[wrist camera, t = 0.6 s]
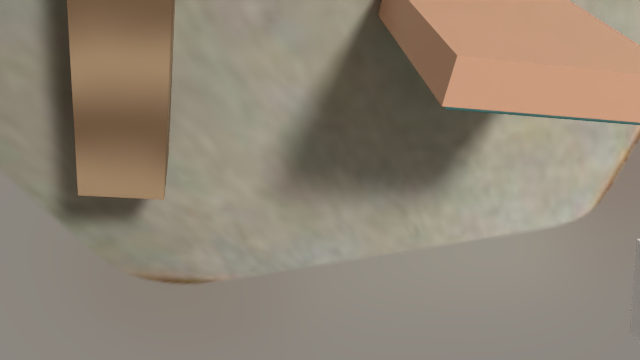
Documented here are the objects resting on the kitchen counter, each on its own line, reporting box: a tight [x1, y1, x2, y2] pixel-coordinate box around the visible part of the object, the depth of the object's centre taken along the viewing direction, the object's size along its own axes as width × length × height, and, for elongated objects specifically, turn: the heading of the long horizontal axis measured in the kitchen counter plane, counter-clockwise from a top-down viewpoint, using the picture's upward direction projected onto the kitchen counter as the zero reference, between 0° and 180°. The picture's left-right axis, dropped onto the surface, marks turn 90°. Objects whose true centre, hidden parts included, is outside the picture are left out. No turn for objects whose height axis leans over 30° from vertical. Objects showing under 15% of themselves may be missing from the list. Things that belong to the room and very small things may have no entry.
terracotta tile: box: [378, 0, 640, 125], centre depth 27 cm, size 2×10×10 cm, turn 81°
